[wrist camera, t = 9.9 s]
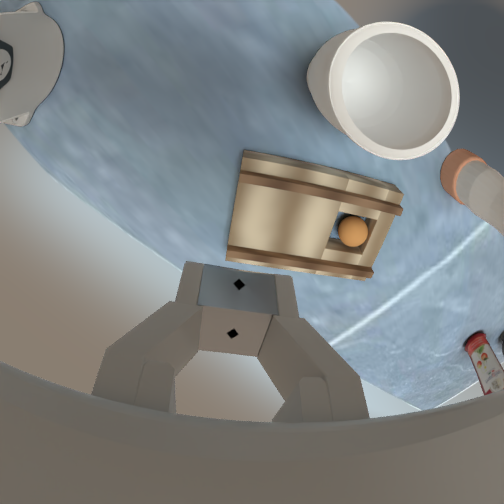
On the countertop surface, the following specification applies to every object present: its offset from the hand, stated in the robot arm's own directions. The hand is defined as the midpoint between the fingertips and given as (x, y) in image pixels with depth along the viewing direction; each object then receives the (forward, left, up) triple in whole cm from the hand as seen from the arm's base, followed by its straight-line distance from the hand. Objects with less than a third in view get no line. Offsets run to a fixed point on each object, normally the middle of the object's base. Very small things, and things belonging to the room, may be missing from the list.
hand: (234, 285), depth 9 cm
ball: (+16, -11, -26) cm, 32 cm away
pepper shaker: (+30, +1, -28) cm, 41 cm away
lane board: (+10, -11, -28) cm, 31 cm away
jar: (+9, +7, -28) cm, 30 cm away
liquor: (+63, -34, -28) cm, 77 cm away
